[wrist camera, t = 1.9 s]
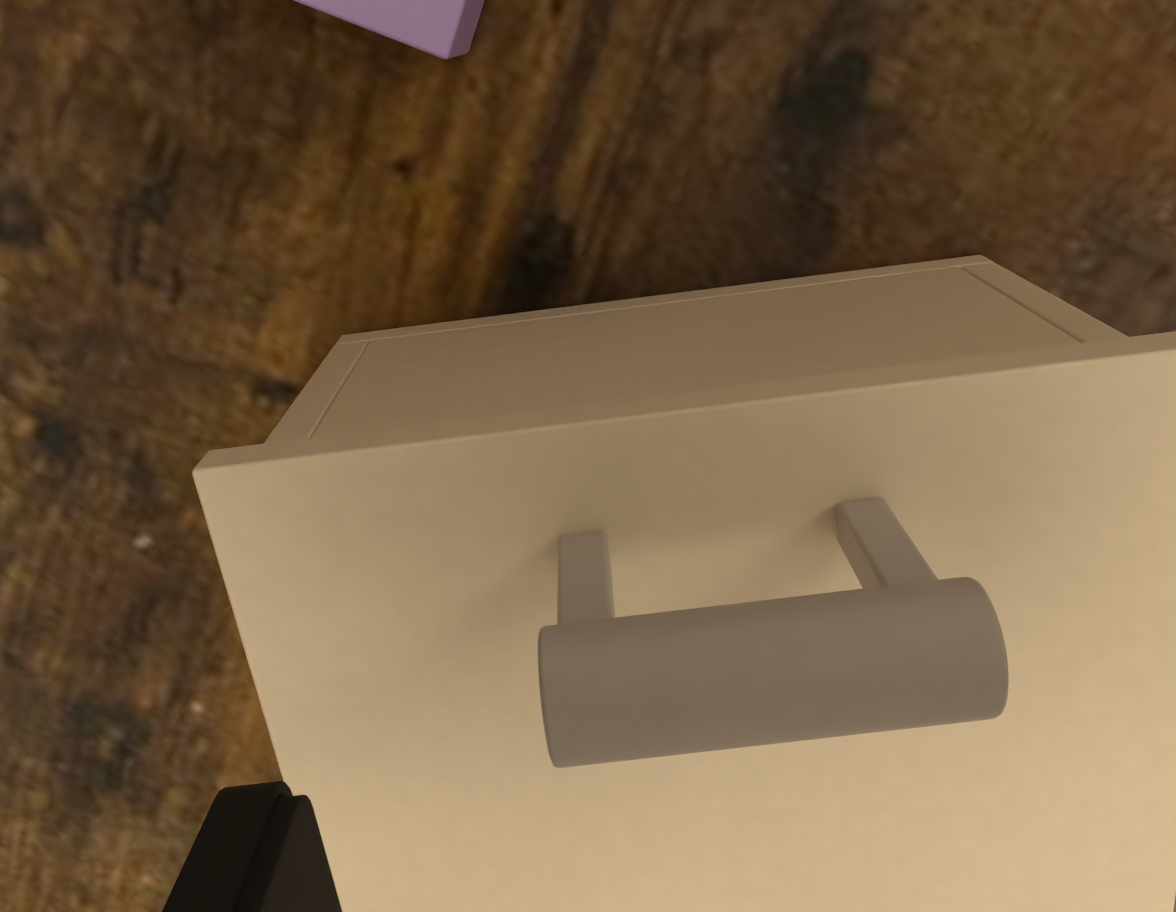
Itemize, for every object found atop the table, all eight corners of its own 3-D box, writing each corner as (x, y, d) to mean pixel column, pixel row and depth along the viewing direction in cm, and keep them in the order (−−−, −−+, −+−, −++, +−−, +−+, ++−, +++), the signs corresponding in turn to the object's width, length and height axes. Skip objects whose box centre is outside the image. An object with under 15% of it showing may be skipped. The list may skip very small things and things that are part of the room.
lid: (207, 449, 15) (50, 635, 10) (1213, 324, 15) (1511, 462, 10) (388, 1075, 20) (335, 1384, 16) (1137, 996, 20) (1310, 1291, 15)
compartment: (340, 334, 24) (222, 496, 15) (982, 253, 23) (1207, 377, 15) (438, 773, 28) (388, 1073, 20) (970, 713, 28) (1136, 994, 20)
